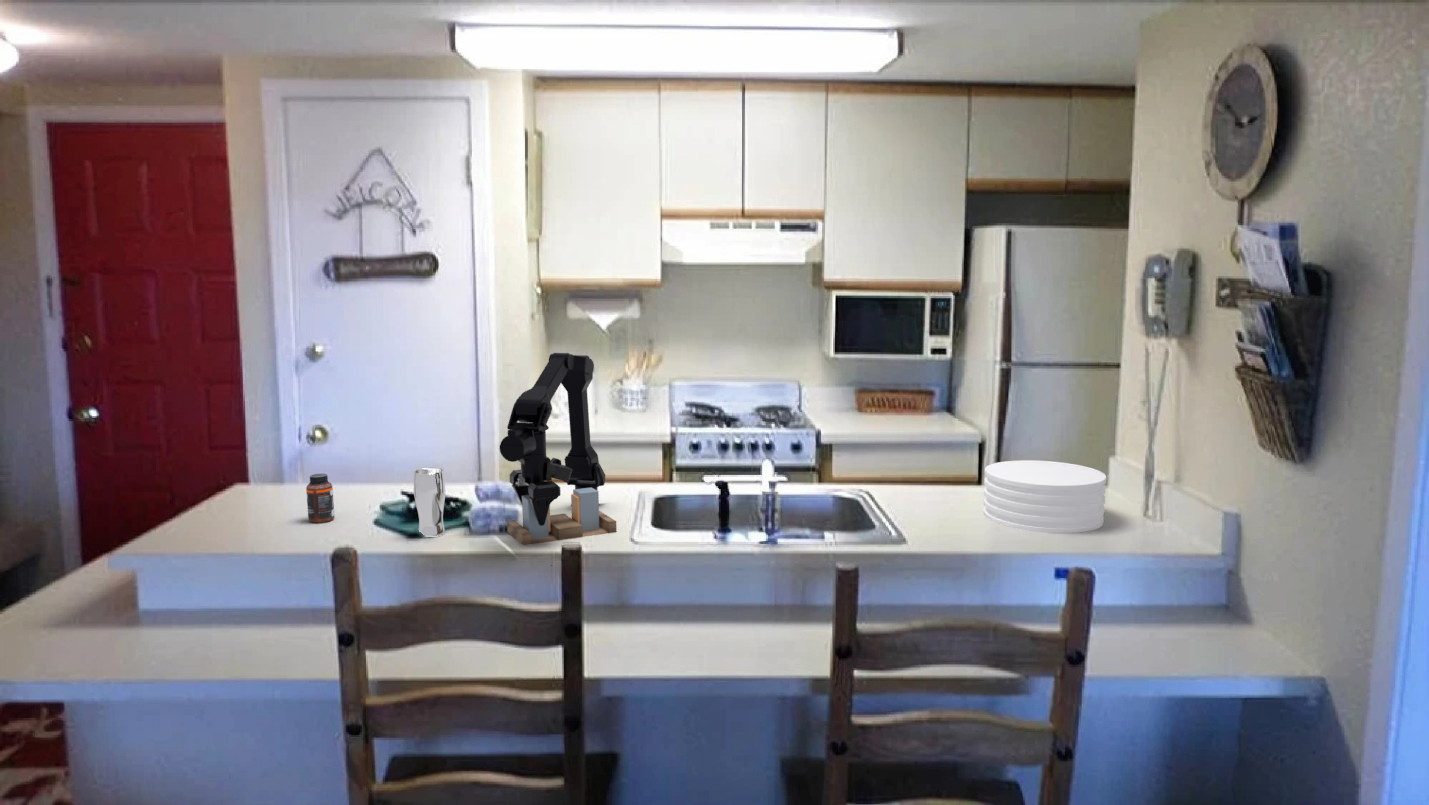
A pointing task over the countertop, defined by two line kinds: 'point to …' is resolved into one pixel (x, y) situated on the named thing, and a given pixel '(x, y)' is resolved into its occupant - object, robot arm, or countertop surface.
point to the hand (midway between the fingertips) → (535, 520)
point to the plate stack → (1044, 496)
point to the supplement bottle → (320, 499)
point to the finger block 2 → (586, 508)
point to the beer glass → (430, 500)
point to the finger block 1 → (534, 520)
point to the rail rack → (561, 529)
